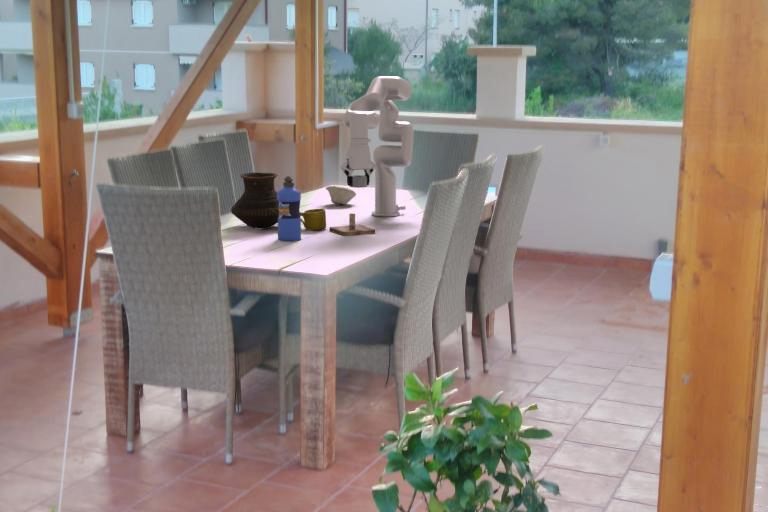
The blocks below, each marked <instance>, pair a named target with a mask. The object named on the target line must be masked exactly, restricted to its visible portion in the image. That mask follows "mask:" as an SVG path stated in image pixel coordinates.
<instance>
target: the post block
mask: <svg viewBox="0 0 768 512" xmlns="http://www.w3.org/2000/svg"><path fill="white" fill-rule="evenodd" d="M348 216H349V220H348V222H349V223H348V225H340V226H339V225H337V226H329V232H332V233H335V234H339V235H341V236H344V237H347V236H348V237H349V236H358V235H359V236H360V235H371V234H372V235H373V234H376V229H374V228H371V227H368V226H366V225H362V224H356V213H349V215H348Z"/></svg>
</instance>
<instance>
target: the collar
mask: <svg viewBox="0 0 768 512" xmlns="http://www.w3.org/2000/svg"><path fill="white" fill-rule="evenodd" d="M364 175H365V174H363V175H362V174H361V175H360V174H354V175H353V174H352V175H351V176H352V177H353V185H352V186H349V185H348V186H349V187H348V188H357V189H359V188H363V189H364V188H367V187H368V185H367V176H364Z"/></svg>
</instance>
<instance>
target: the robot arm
mask: <svg viewBox="0 0 768 512" xmlns="http://www.w3.org/2000/svg"><path fill="white" fill-rule="evenodd" d="M412 91H413V90H412V86H411V84H410V82H409V81H407V80H406V79H405V78H402V77H400V76H393V75H392V76H391V75H390V76H389V75H388V76H387V75H384V76H383V75H381V76H380V75H379V76H376V77H375V78H373V79H372V80H371V82H370V84H369V87H368V88H367V91H366V92H365V94H364V95H362V96H360V97H359V98H357V99H355V100H354V101H351V103H350V104H349V105H348V106H347V109H346V111H345V115H344V117H343V118H344V119H343V121H344V126H345V127H346V128H348V129H349V143H348V145H347V147H346V152H345V159H344V162H343V164H342V165H340V169H341V171H343V173H344V174H345V176H346V183H347V186H352V185H353V177H352V176H351V175H353V173H354V171H361V170H362V171H363V172H364V174H363V175H364V176H367V186H369V185H370V181H371V180H370V176H371V175H372V173H373V172H374V187H375V188H374V210H373V211H372V212H371V215H372V216H375V217H397V216H400V210H401V211H403V210H406V205H399V204H397V175H396V173H395V171H394V169H393V167H395V168H407V167H409V166H411V163H412V159H413V151H414V150H413V148H414V136H415V135H414V134H415V131H414V127H413V124H412V123H410V122H409V121H399V114H400V111H399V108H398V107H397V105H396V104H395V102H394V101H401V102H402V101H404V102H405V101H408V100H409V99H410V98H411V95H412ZM376 110H379V116H378V113H376V112H375V111H376ZM377 126H378V139H379V141H381V142H383V143H389V144H381V145H378V146H376V147H375V148H374V149H373V151H372V157H373V158H371V151H370V150H371V149H370V145H368V144H369V143H370V142H371V139H370V138H368V137H369V136H368V132H369V130H373V129H375V128H376V127H377ZM390 143H391V144H392V143H393V145H390ZM394 143H395V144H397V143H399V144H401V145H394ZM371 159H373V161H372V160H371Z"/></svg>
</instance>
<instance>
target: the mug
mask: <svg viewBox="0 0 768 512" xmlns="http://www.w3.org/2000/svg"><path fill="white" fill-rule="evenodd" d="M326 214H327V213H326V209H325V208H313V209H306V210H305V211H304V212H302V211H300V217H302V218H303V219H302V218H301V223H302V224H303V226H304V228H305V230H308V231H313V232H314V231H315V232H318V231H322V230H326V228H327V216H326Z"/></svg>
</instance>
